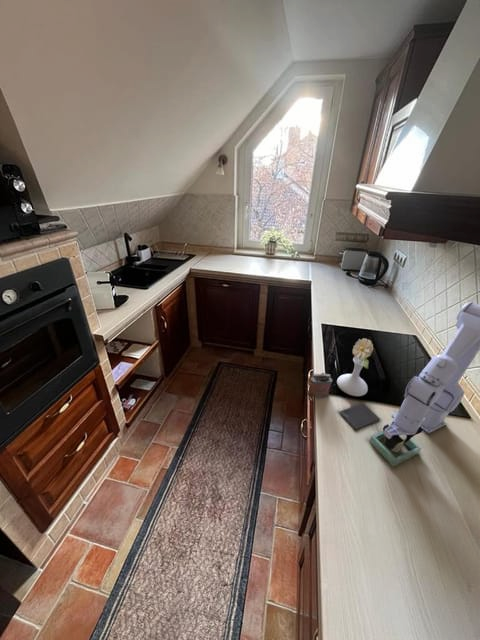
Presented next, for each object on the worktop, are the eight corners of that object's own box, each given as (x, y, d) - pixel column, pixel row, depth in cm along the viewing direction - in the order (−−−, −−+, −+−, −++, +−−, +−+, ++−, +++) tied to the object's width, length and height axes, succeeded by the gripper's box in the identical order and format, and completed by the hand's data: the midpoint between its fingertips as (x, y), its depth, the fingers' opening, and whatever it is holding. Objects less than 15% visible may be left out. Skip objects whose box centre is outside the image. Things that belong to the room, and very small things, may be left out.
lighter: (326, 390, 99) (331, 371, 94) (329, 397, 96) (335, 377, 92) (306, 390, 99) (310, 371, 94) (308, 397, 96) (313, 377, 91)
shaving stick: (392, 440, 81) (399, 427, 78) (401, 450, 78) (409, 436, 75) (384, 444, 80) (391, 431, 77) (394, 453, 77) (401, 440, 74)
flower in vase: (335, 375, 107) (349, 325, 95) (364, 381, 105) (382, 330, 92) (337, 398, 96) (353, 344, 84) (369, 405, 94) (391, 350, 81)
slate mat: (362, 403, 94) (362, 402, 94) (379, 419, 88) (379, 418, 88) (339, 412, 90) (339, 411, 90) (355, 430, 84) (355, 428, 84)
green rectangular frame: (393, 430, 85) (395, 425, 83) (418, 453, 78) (421, 448, 76) (369, 441, 81) (371, 436, 80) (393, 466, 74) (396, 461, 73)
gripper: (415, 396, 77) (400, 425, 84) (380, 410, 72) (367, 440, 79) (438, 414, 72) (420, 443, 78) (403, 430, 67) (386, 461, 73)
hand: (395, 443), depth 78 cm, fingers open, 5 cm apart
